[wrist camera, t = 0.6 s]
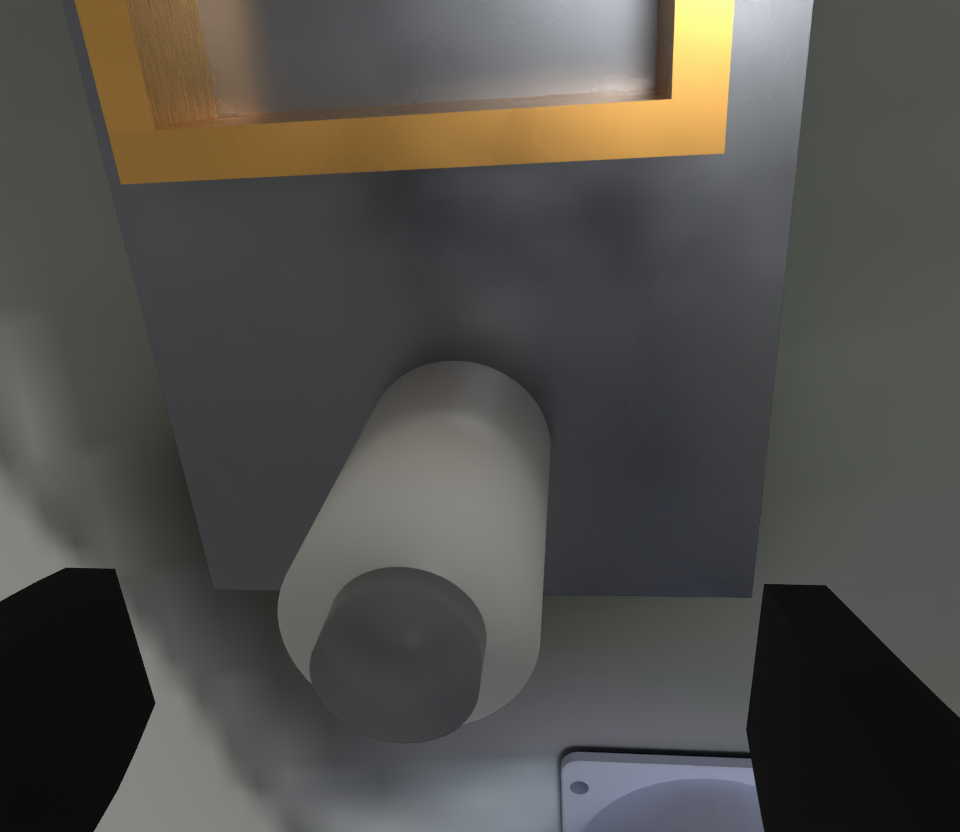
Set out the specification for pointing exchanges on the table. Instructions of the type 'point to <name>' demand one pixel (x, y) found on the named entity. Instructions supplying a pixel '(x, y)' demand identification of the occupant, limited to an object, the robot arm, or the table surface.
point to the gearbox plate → (462, 251)
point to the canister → (427, 559)
